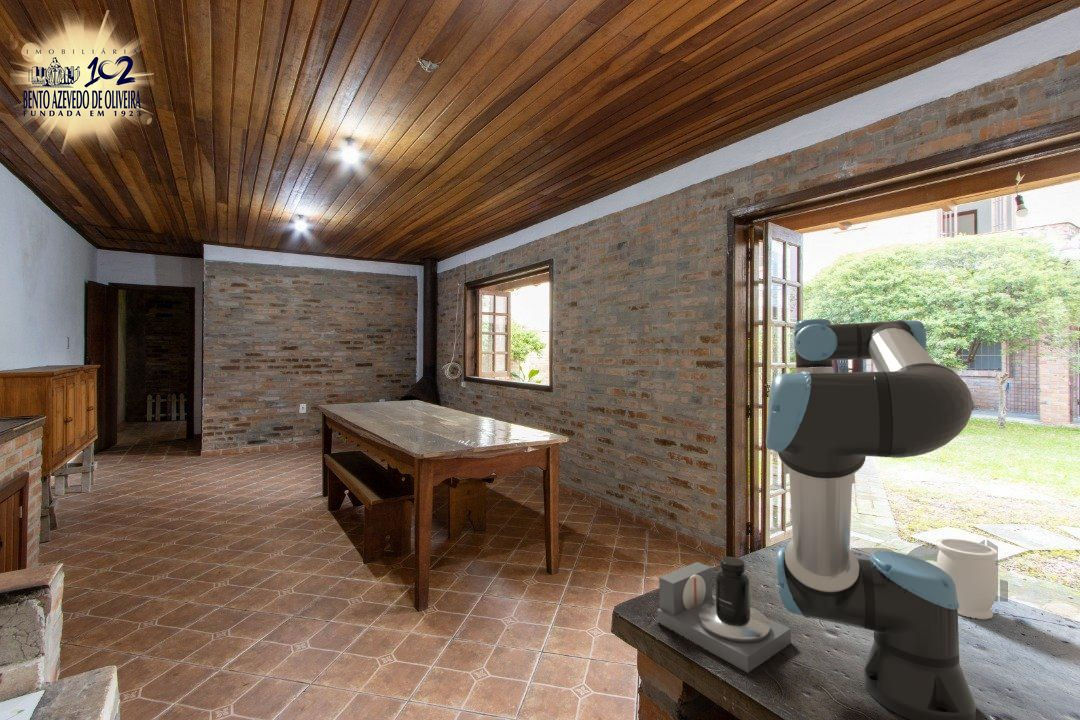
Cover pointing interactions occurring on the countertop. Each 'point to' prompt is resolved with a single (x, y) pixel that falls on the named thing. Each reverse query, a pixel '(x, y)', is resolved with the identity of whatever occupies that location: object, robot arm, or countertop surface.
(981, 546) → the jar
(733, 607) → the supplement bottle
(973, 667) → the countertop surface
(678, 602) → the scale
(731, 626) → the scale pan
